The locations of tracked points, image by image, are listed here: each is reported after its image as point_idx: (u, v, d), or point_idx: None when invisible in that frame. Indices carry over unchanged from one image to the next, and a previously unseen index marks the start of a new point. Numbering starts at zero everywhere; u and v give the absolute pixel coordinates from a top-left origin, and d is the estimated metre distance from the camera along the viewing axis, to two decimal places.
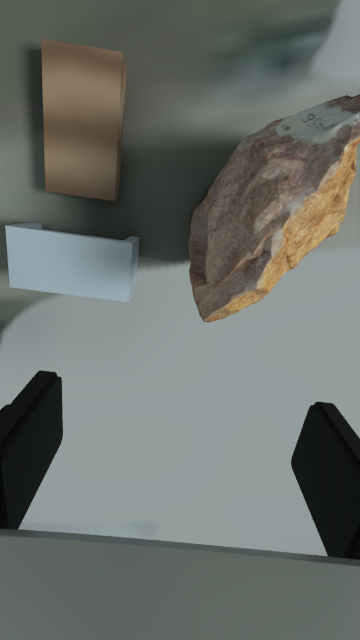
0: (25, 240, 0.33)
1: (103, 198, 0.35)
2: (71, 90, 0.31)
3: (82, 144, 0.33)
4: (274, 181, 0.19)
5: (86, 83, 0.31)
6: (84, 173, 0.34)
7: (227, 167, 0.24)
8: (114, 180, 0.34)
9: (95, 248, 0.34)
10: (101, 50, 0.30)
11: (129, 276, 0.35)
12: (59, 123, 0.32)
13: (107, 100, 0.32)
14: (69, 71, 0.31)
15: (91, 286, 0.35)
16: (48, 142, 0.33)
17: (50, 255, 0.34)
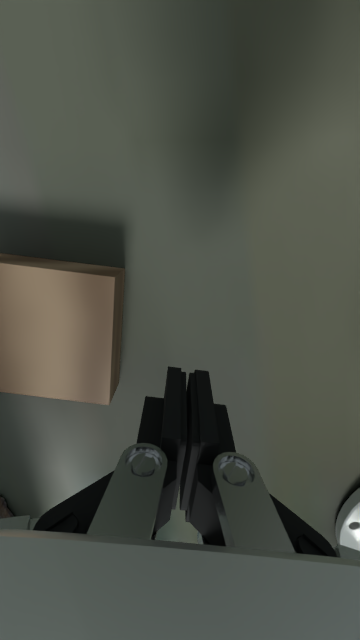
0: None
1: None
2: (42, 320, 0.17)
3: None
4: None
5: (59, 347, 0.17)
6: None
7: None
8: None
9: None
10: (107, 376, 0.18)
11: None
12: None
13: (39, 379, 0.18)
14: (70, 320, 0.17)
15: None
16: None
17: None
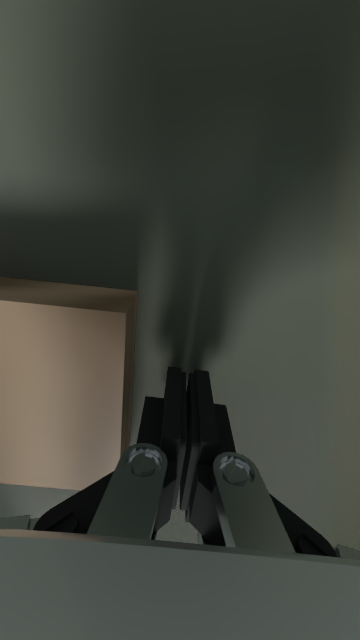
0: None
1: None
2: (11, 380, 0.10)
3: None
4: None
5: (39, 417, 0.11)
6: None
7: None
8: None
9: None
10: (116, 455, 0.12)
11: None
12: None
13: (12, 462, 0.12)
14: (56, 380, 0.10)
15: None
16: None
17: None
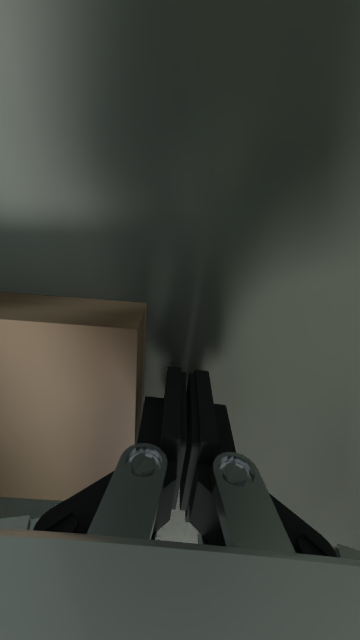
0: None
1: None
2: (24, 397, 0.11)
3: None
4: None
5: (52, 433, 0.11)
6: None
7: None
8: None
9: None
10: None
11: None
12: None
13: (27, 477, 0.12)
14: (69, 396, 0.10)
15: None
16: None
17: None
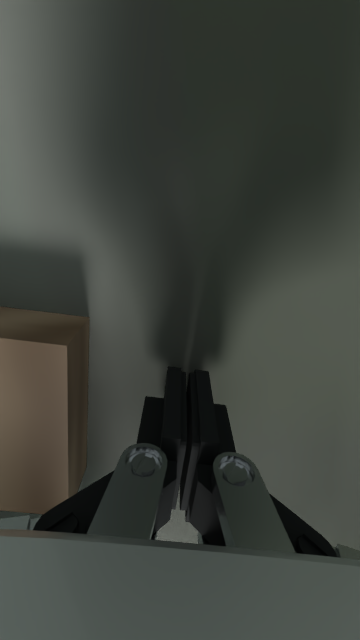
0: None
1: None
2: None
3: None
4: None
5: None
6: None
7: None
8: None
9: None
10: (64, 480, 0.12)
11: None
12: None
13: None
14: (0, 407, 0.10)
15: None
16: None
17: None
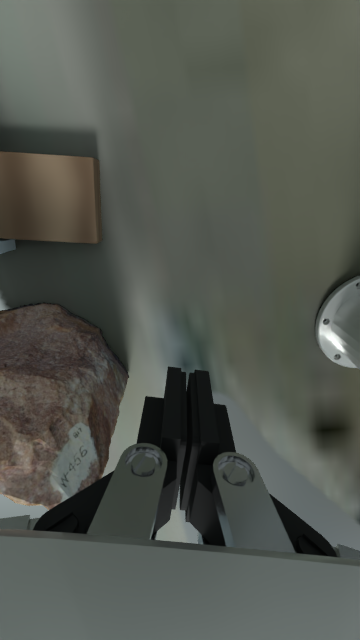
0: None
1: None
2: (54, 188, 0.29)
3: (6, 199, 0.30)
4: (10, 453, 0.21)
5: (64, 206, 0.30)
6: None
7: (49, 381, 0.25)
8: None
9: None
10: (94, 223, 0.31)
11: None
12: (19, 172, 0.29)
13: (54, 229, 0.31)
14: (70, 187, 0.29)
15: None
16: None
17: None
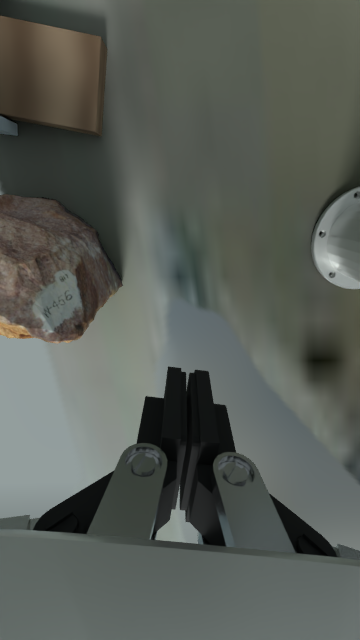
0: None
1: None
2: (59, 65, 0.30)
3: (11, 71, 0.30)
4: None
5: (68, 86, 0.30)
6: None
7: (39, 229, 0.25)
8: None
9: None
10: (95, 108, 0.31)
11: None
12: (27, 43, 0.29)
13: (55, 110, 0.31)
14: (75, 66, 0.30)
15: None
16: (6, 23, 0.29)
17: None
